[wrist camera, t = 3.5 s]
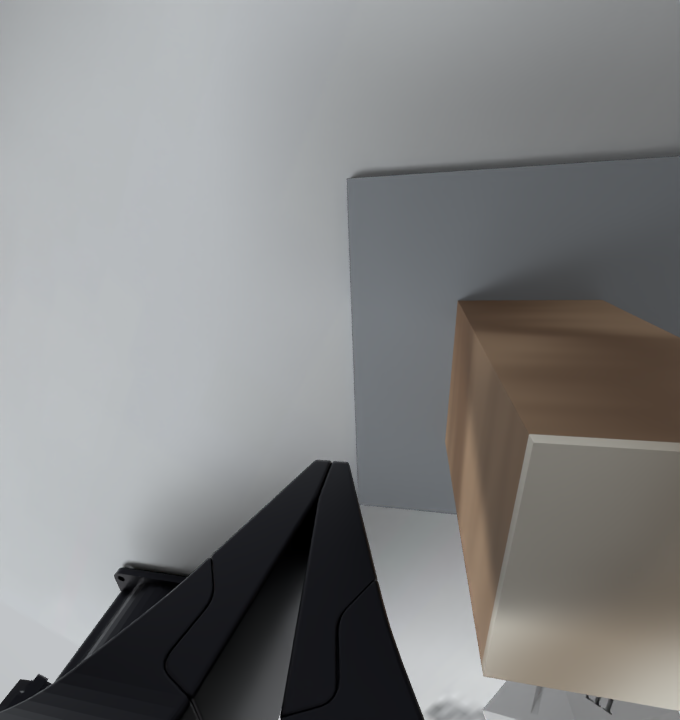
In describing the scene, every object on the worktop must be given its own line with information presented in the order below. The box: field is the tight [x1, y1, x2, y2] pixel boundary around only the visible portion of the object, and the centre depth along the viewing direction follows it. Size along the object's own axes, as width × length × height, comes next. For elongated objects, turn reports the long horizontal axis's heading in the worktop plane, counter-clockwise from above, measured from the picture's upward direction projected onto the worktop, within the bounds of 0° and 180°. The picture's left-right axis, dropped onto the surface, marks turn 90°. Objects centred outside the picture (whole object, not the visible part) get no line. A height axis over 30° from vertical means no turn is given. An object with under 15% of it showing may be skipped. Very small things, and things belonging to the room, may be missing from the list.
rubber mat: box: [347, 156, 680, 514], centre depth 13 cm, size 17×14×1 cm
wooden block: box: [445, 300, 680, 711], centre depth 9 cm, size 4×6×8 cm
